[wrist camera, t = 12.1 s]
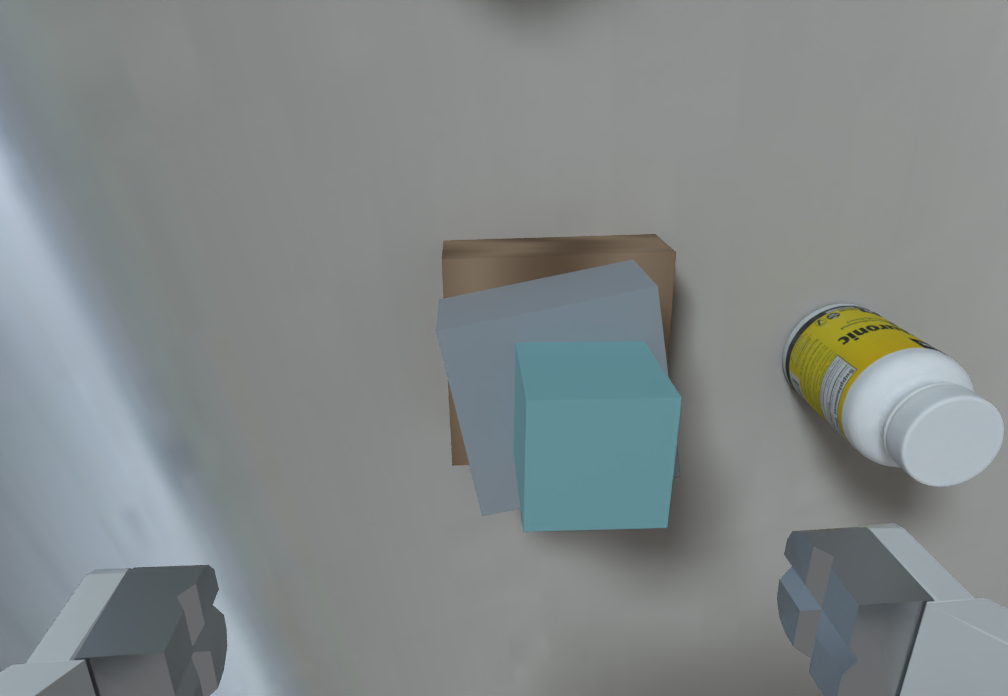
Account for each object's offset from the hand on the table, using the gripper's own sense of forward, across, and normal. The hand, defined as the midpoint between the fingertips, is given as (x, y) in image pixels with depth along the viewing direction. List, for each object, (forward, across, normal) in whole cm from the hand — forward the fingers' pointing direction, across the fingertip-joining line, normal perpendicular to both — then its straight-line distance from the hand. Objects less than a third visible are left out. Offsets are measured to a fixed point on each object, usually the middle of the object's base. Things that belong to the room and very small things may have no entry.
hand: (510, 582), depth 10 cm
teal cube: (+17, -4, +6) cm, 18 cm away
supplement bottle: (+24, -19, +7) cm, 31 cm away
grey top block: (+21, -4, +6) cm, 22 cm away
